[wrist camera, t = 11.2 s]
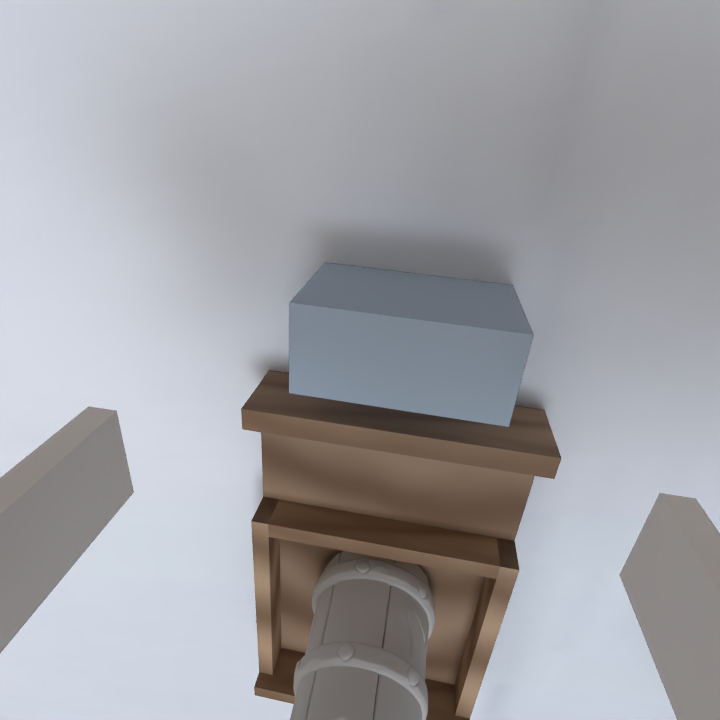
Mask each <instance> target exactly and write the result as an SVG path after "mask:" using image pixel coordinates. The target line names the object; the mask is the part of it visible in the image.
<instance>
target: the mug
mask: <svg viewBox="0 0 720 720" xmlns="http://www.w3.org/2000/svg"><path fill="white" fill-rule="evenodd" d="M312 609H313V613H314V617H313V622H312V626H311V631H310V635H309V639H308V644H307V648H306V653H305V656H304V657H303V658H302V659H301V660H300V661H298V662H297V665H296V668H295V672H294V685H293V689H294V694H295V701H294V705H293V710H292V714H291V719H290V720H426V717H427V713H428V691H427V686H426V683H425V669H426V654H427V645H428V639H429V638H430V636H431V634H432V631H433V629H434V625H435V617H436V610H435V602H434V599H433V596H432V594H431V588H430V586H429V584H428V578H427V576H426V575H425V573H424V572H423V571H422V570H421V568H420V567H419V566H418V565H417V564H413V563H407V562H402V561H396V560H391V559H386V558H380V557H375V556H369V555H364V554H359V553H353V552H348V551H342V553H341V552H339V553H338V554H337V555H336V556H335V557H334V558H333V559H332V560H331V561H330V562H329V563H328V565H327V566H326V568H325V570H324V572H323V573H322V574H321V575H320V577H319V579H318V580H317V582H316V584H315V586H314V589H313V597H312Z"/></svg>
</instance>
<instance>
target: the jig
mask: <svg viewBox="0 0 720 720" xmlns="http://www.w3.org/2000/svg"><path fill="white" fill-rule="evenodd" d="M241 413H242V429H244V430H250V431H257V432H261V440H262V469H263V499H262V501H261V503H260V505H259V507H258V509H257V511H256V513H255V515H254V517H253V519H252V521H251V523H252V542H253V561H254V580H255V599H256V618H257V637H258V656H259V675H258V678H257V681H256V684H255V687H254V690H255V695H257V696H261V697H266V698H270V699H275V700H279V701H283V702H288V703H292V704H294V701H295V694H294V689H293V685H294V672H295V668H296V665H297V662H298V661H300V660H301V659H302V658H303V657H304V656H305V653H306V648H307V644H308V639H309V635H310V631H311V626H312V622H313V617H314V613H313V609H312V597H313V589H314V586H315V584H316V582H317V580H318V579H319V577H320V575H321V574H322V573H323V572H324V570H325V568H326V566H327V565H328V563H329V562H330V561H331V560H332V559H333V558H334V557H335V556H336V555H337V554H338V553H339V552H341V553H342V551H348V552H353V553H359V554H364V555H369V556H375V557H380V558H386V559H391V560H396V561H402V562H407V563H413V564H417V565H418V566H419V567H420V568H421V570H422V571H423V572H424V573H425V575H426V576H427V578H428V584H429V586H430V588H431V594H432V596H433V599H434V602H435V610H436V617H435V625H434V629H433V631H432V634H431V636H430V638H429V639H428V645H427V654H426V669H425V683H426V686H427V691H428V713H427V717H426V720H470V716H471V713H472V710H473V707H474V704H475V701H476V698H477V695H478V692H479V689H480V686H481V683H482V680H483V677H484V674H485V671H486V668H487V665H488V662H489V659H490V656H491V653H492V650H493V647H494V644H495V641H496V638H497V635H498V632H499V629H500V626H501V623H502V620H503V617H504V614H505V611H506V608H507V605H508V602H509V599H510V596H511V593H512V590H513V587H514V584H515V581H516V578H517V575H518V572H519V565H518V559H517V553H516V547H515V541H514V540H515V537H516V534H517V531H518V528H519V525H520V521H521V518H522V515H523V512H524V509H525V505H526V502H527V499H528V496H529V493H530V489H531V486H532V483H533V480H534V477H535V476H539V477H545V478H552V479H554V478H555V476H556V473H557V470H558V467H559V464H560V461H561V456H560V453H559V450H558V447H557V444H556V442H555V439H554V436H553V433H552V430H551V427H550V424H549V422H548V419H547V416H546V413H545V410H540V409H533V408H526V407H519V406H514V409H513V413H512V417H511V420H510V424H509V427H506V426H499V425H493V424H486V423H480V422H473V421H467V420H461V419H454V418H448V417H441V416H435V415H428V414H422V413H415V412H409V411H402V410H396V409H389V408H383V407H376V406H370V405H363V404H357V403H350V402H344V401H338V400H331V399H325V398H318V397H312V396H305V395H299V394H292V393H289V373H282V372H275V371H268V373H267V374H266V375H265V377H264V378H263V380H262V381H261V382H260V384H259V385H258V387H257V388H256V389H255V391H254V392H253V393H252V395H251V396H250V398H249V399H248V400H247V402H246V403H245V405H244V406H243V407H242V409H241Z"/></svg>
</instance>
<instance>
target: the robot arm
mask: <svg viewBox="0 0 720 720" xmlns="http://www.w3.org/2000/svg"><path fill="white" fill-rule="evenodd" d="M133 492H134V491H133V486H132V482H131V477H130V472H129V467H128V463H127V458H126V453H125V448H124V444H123V439H122V434H121V429H120V425H119V420H118V415H117V411H115V410H108V409H102V408H95V407H87V408H86V409H85V410H84V411H83V412H81V413H80V414H79V415H78V416H76V417H75V418H74V419H73V420H71V421H70V422H69V423H68V424H66V425H65V426H64V427H63V428H61V429H60V430H59V431H58V432H57V433H55V434H54V435H53V436H52V437H50V438H49V439H48V440H47V441H45V442H44V443H43V444H42V445H40V446H39V447H38V448H37V449H36V450H34V451H33V452H32V453H31V454H29V455H28V456H27V457H26V458H24V459H23V460H22V461H21V462H19V463H18V464H17V465H16V466H15V467H13V468H12V469H11V470H10V471H8V472H7V473H6V474H5V475H3V476H2V477H1V478H0V653H1V652H2V651H3V649H4V648H5V647H6V646H7V645H8V643H9V642H10V641H11V640H12V639H13V637H14V636H15V635H16V634H17V633H18V631H19V630H20V629H21V628H22V626H23V625H24V624H25V623H26V622H27V620H28V619H29V618H30V617H31V616H32V614H33V613H34V612H35V611H36V610H37V608H38V607H39V606H40V605H41V604H42V602H43V601H44V600H45V599H46V597H47V596H48V595H49V594H50V593H51V591H52V590H53V589H54V588H55V587H56V585H57V584H58V583H59V582H60V581H61V579H62V578H63V577H64V576H65V575H66V573H67V572H68V571H69V570H70V569H71V567H72V566H73V565H74V564H75V562H76V561H77V560H78V559H79V558H80V556H81V555H82V554H83V553H84V552H85V550H86V549H87V548H88V547H89V546H90V544H91V543H92V542H93V541H94V540H95V538H96V537H97V536H98V535H99V533H100V532H101V531H102V530H103V529H104V527H105V526H106V525H107V524H108V523H109V521H110V520H111V519H112V518H113V517H114V515H115V514H116V513H117V512H118V511H119V509H120V508H121V507H122V506H123V504H124V503H125V502H126V501H127V500H128V498H129V497H130V496H131V495H132V494H133ZM620 577H621V580H622V582H623V585H624V587H625V590H626V592H627V595H628V597H629V600H630V602H631V605H632V607H633V610H634V612H635V615H636V617H637V620H638V622H639V625H640V627H641V630H642V632H643V635H644V637H645V640H646V642H647V645H648V648H649V650H650V653H651V655H652V658H653V660H654V663H655V665H656V668H657V670H658V673H659V675H660V678H661V680H662V683H663V685H664V688H665V690H666V693H667V695H668V698H669V700H670V703H671V705H672V708H673V710H674V713H675V715H676V718H677V720H720V533H719V532H718V530H717V529H716V527H715V526H714V525H713V523H712V522H711V520H710V519H709V517H708V516H707V514H706V513H705V511H704V510H703V508H702V507H701V505H700V504H699V502H698V501H697V500H696V499H695V498H689V497H682V496H676V495H669V494H662V493H660V494H659V496H658V498H657V500H656V502H655V504H654V506H653V508H652V510H651V512H650V514H649V516H648V518H647V520H646V522H645V524H644V526H643V528H642V530H641V532H640V534H639V536H638V538H637V541H636V543H635V545H634V547H633V549H632V551H631V553H630V555H629V557H628V559H627V561H626V563H625V565H624V567H623V569H622V571H621V573H620Z"/></svg>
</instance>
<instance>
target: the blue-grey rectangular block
mask: <svg viewBox="0 0 720 720" xmlns="http://www.w3.org/2000/svg"><path fill="white" fill-rule="evenodd" d="M532 339H533V332H532V330H531V327H530V325H529V323H528V320H527V318H526V315H525V313H524V311H523V308H522V306H521V304H520V301H519V299H518V296H517V294H516V292H515V289H514V287H513V285H508V284H499V283H491V282H483V281H474V280H466V279H458V278H449V277H441V276H433V275H424V274H416V273H408V272H399V271H391V270H383V269H374V268H366V267H358V266H349V265H341V264H333V263H325V264H324V265H323V266H322V267H321V268H320V269H319V270H318V271H317V272H316V274H315V275H314V276H313V277H312V278H311V279H310V280H309V281H308V283H307V284H306V285H305V286H304V287H303V288H302V289H301V290H300V291H299V293H298V294H297V295H296V296H295V297H294V298H293V299H292V300H291V302H290V303H289V393H292V394H299V395H305V396H312V397H318V398H325V399H331V400H338V401H344V402H350V403H357V404H363V405H370V406H376V407H383V408H389V409H396V410H402V411H409V412H415V413H422V414H428V415H435V416H441V417H448V418H454V419H461V420H467V421H473V422H480V423H486V424H493V425H499V426H506V427H509V424H510V420H511V417H512V413H513V409H514V406H515V402H516V398H517V395H518V391H519V387H520V384H521V380H522V376H523V372H524V369H525V365H526V361H527V358H528V354H529V350H530V347H531V343H532Z"/></svg>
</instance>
